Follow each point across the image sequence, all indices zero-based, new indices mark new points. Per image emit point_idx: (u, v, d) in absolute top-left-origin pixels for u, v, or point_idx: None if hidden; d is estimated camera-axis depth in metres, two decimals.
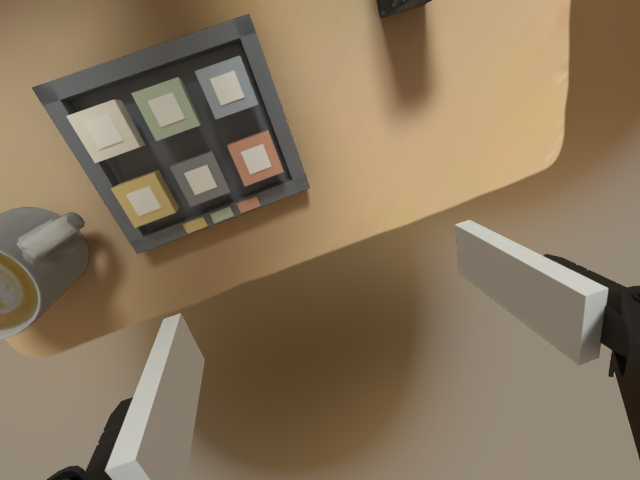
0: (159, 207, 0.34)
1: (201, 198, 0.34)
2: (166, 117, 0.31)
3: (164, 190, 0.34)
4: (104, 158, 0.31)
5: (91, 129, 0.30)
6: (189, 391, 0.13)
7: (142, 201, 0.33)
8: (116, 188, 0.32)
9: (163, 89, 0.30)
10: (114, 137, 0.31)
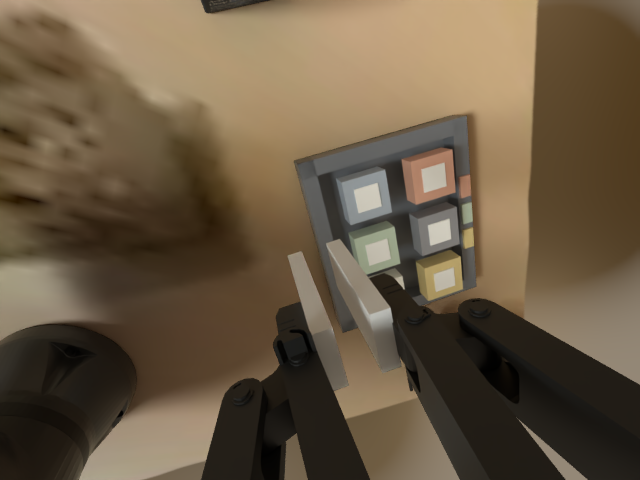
0: (452, 268, 0.37)
1: (454, 233, 0.36)
2: (384, 253, 0.35)
3: (439, 261, 0.37)
4: None
5: None
6: None
7: (443, 280, 0.38)
8: (429, 297, 0.38)
9: (362, 252, 0.34)
10: None
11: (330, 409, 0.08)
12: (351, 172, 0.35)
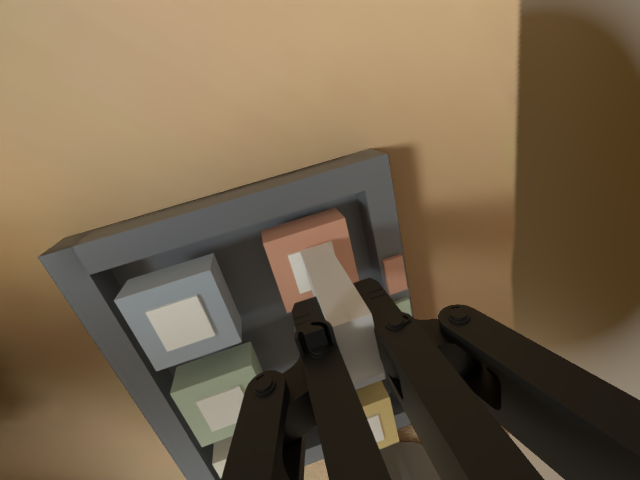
0: (377, 416, 0.21)
1: None
2: (238, 409, 0.18)
3: None
4: None
5: None
6: None
7: None
8: None
9: (192, 411, 0.18)
10: None
11: (350, 402, 0.08)
12: (183, 254, 0.19)
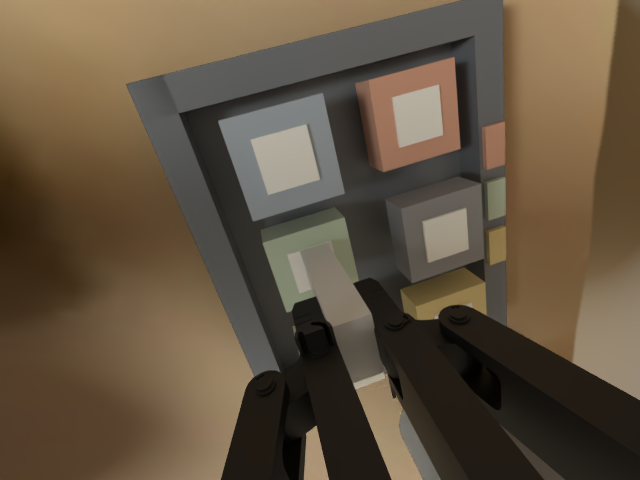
0: (470, 305, 0.20)
1: (476, 238, 0.18)
2: None
3: (444, 292, 0.19)
4: None
5: None
6: None
7: None
8: None
9: (282, 267, 0.17)
10: None
11: (350, 402, 0.08)
12: None
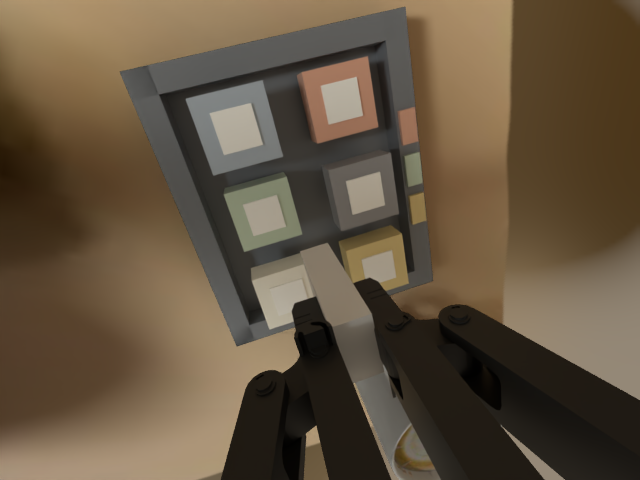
0: (390, 252, 0.25)
1: (390, 196, 0.23)
2: (274, 217, 0.23)
3: (370, 241, 0.25)
4: None
5: (286, 309, 0.24)
6: None
7: (378, 270, 0.25)
8: None
9: (239, 214, 0.23)
10: (297, 286, 0.24)
11: (349, 402, 0.08)
12: None
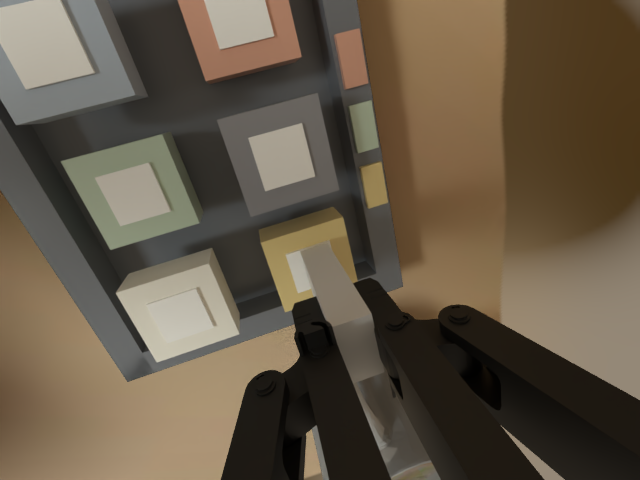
0: (328, 243, 0.17)
1: (323, 163, 0.15)
2: (149, 197, 0.16)
3: (297, 228, 0.17)
4: (231, 320, 0.17)
5: (177, 333, 0.17)
6: None
7: None
8: (285, 304, 0.18)
9: (93, 193, 0.15)
10: (192, 300, 0.16)
11: (350, 402, 0.08)
12: None
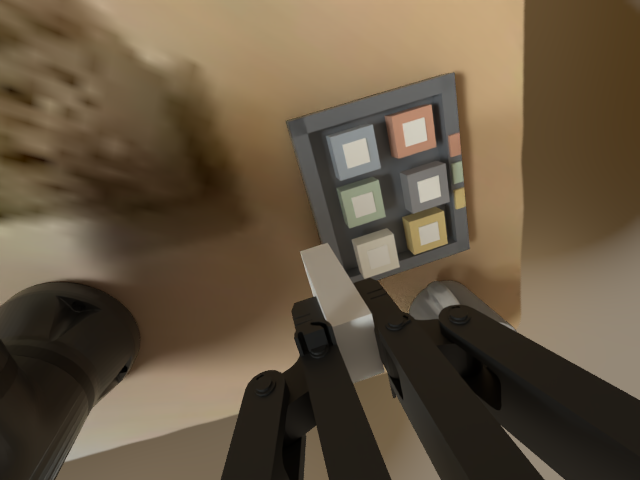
0: (436, 222, 0.39)
1: (444, 190, 0.36)
2: (369, 205, 0.37)
3: (423, 216, 0.39)
4: (397, 260, 0.38)
5: (376, 265, 0.38)
6: None
7: (428, 234, 0.40)
8: (415, 250, 0.40)
9: (348, 204, 0.37)
10: (383, 250, 0.38)
11: (349, 402, 0.08)
12: None
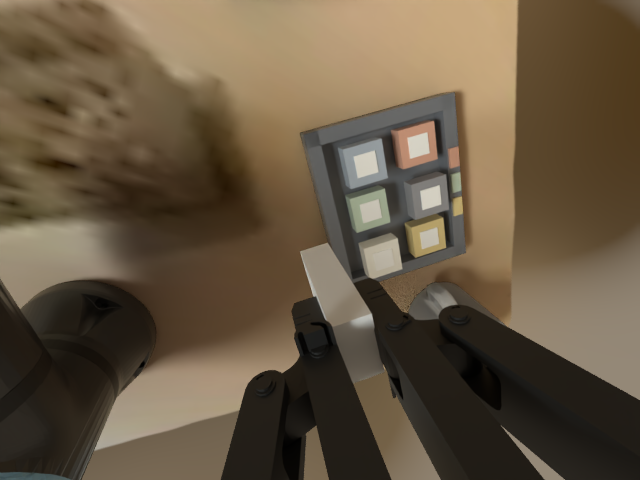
0: (436, 228, 0.43)
1: (444, 199, 0.40)
2: (376, 212, 0.40)
3: (424, 222, 0.42)
4: (400, 262, 0.42)
5: (381, 266, 0.41)
6: None
7: (428, 239, 0.43)
8: (416, 254, 0.43)
9: (356, 210, 0.40)
10: (388, 253, 0.41)
11: (349, 402, 0.08)
12: None
